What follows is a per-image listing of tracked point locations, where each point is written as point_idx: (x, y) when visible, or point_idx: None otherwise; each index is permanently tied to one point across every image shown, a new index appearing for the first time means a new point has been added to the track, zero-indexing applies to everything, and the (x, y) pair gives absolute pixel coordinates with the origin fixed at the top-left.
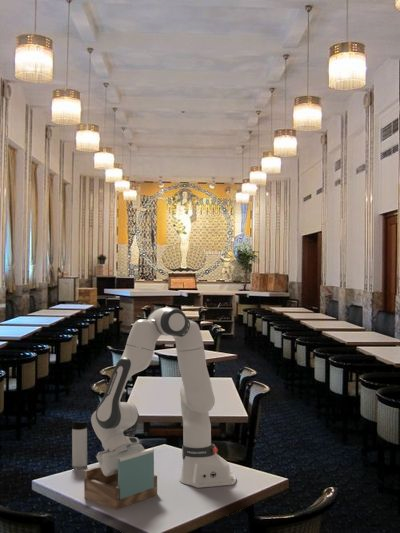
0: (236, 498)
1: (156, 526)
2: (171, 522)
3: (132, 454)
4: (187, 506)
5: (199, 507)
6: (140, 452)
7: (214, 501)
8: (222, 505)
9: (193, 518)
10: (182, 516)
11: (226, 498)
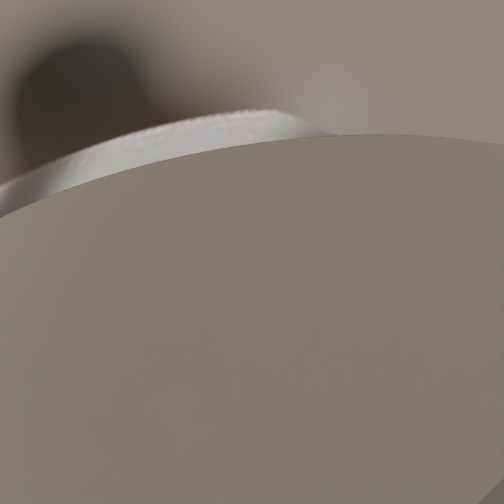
0: (12, 185)
1: (302, 129)
2: (249, 127)
3: None
4: None
5: (102, 172)
6: (6, 326)
7: (45, 192)
8: (60, 160)
9: (178, 122)
10: (193, 141)
11: (18, 196)
